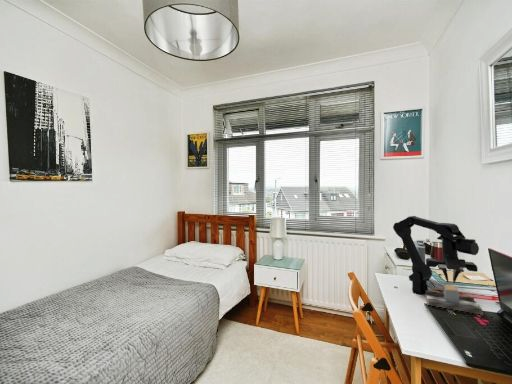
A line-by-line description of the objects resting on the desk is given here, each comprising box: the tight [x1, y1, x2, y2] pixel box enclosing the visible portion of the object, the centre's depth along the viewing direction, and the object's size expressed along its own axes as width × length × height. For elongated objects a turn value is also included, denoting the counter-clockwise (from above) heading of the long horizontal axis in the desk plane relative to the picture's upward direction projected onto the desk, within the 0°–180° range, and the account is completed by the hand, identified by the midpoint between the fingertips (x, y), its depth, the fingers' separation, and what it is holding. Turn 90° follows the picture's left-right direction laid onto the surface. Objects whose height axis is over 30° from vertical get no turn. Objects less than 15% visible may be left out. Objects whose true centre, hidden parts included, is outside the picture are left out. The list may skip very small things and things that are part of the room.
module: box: [442, 284, 460, 305], centre depth 115 cm, size 5×7×6 cm
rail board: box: [424, 289, 484, 316], centre depth 115 cm, size 20×13×3 cm, turn 60°
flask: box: [413, 239, 426, 264], centre depth 144 cm, size 17×5×25 cm, turn 153°
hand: (450, 282), depth 115 cm, fingers closed
